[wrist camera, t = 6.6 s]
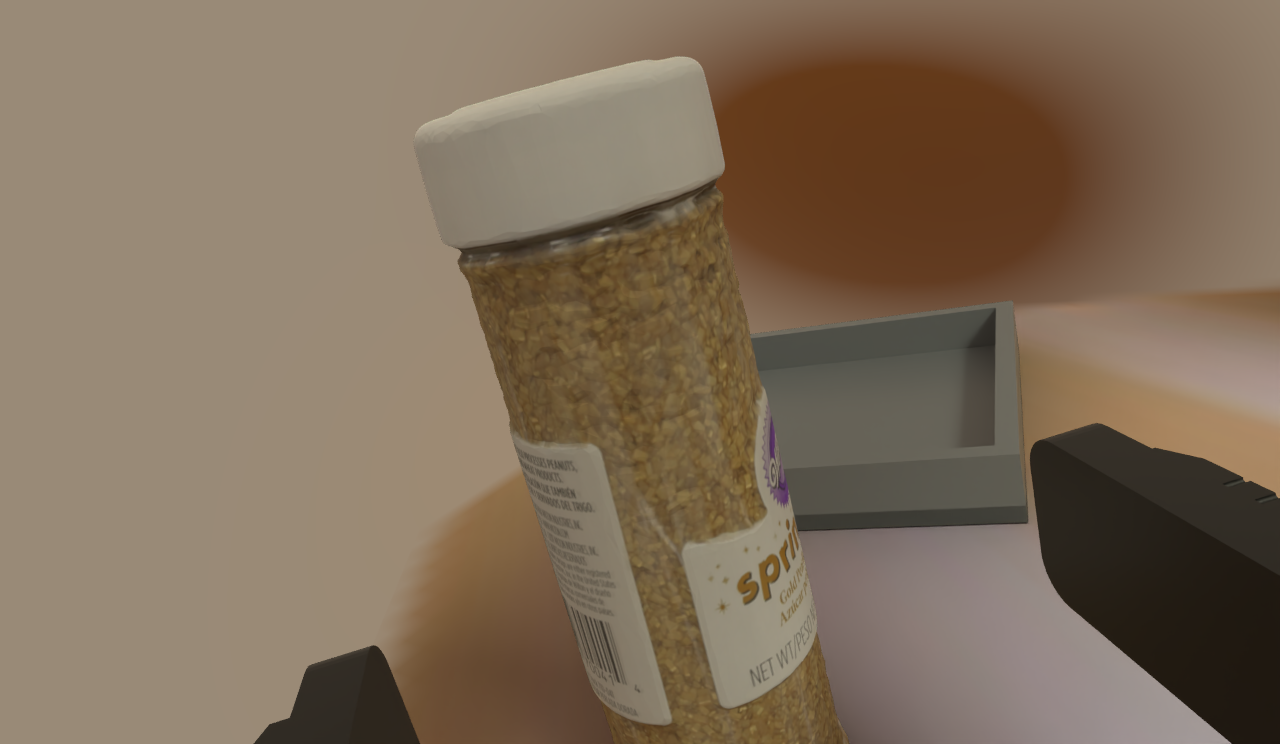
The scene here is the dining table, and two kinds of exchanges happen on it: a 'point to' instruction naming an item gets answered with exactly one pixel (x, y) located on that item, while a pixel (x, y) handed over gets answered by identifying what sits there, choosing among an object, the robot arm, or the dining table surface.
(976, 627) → the dining table surface
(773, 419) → the condiment tray
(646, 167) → the sprinkles bottle
